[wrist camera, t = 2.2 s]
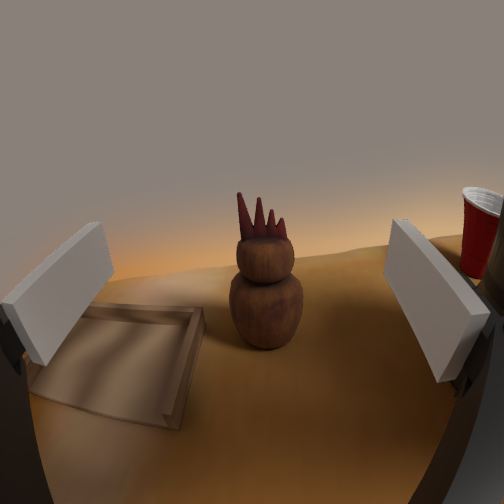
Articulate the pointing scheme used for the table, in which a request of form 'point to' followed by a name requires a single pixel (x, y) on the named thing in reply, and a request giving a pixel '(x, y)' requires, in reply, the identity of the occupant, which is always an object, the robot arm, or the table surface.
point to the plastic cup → (479, 228)
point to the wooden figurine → (265, 281)
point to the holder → (125, 363)
